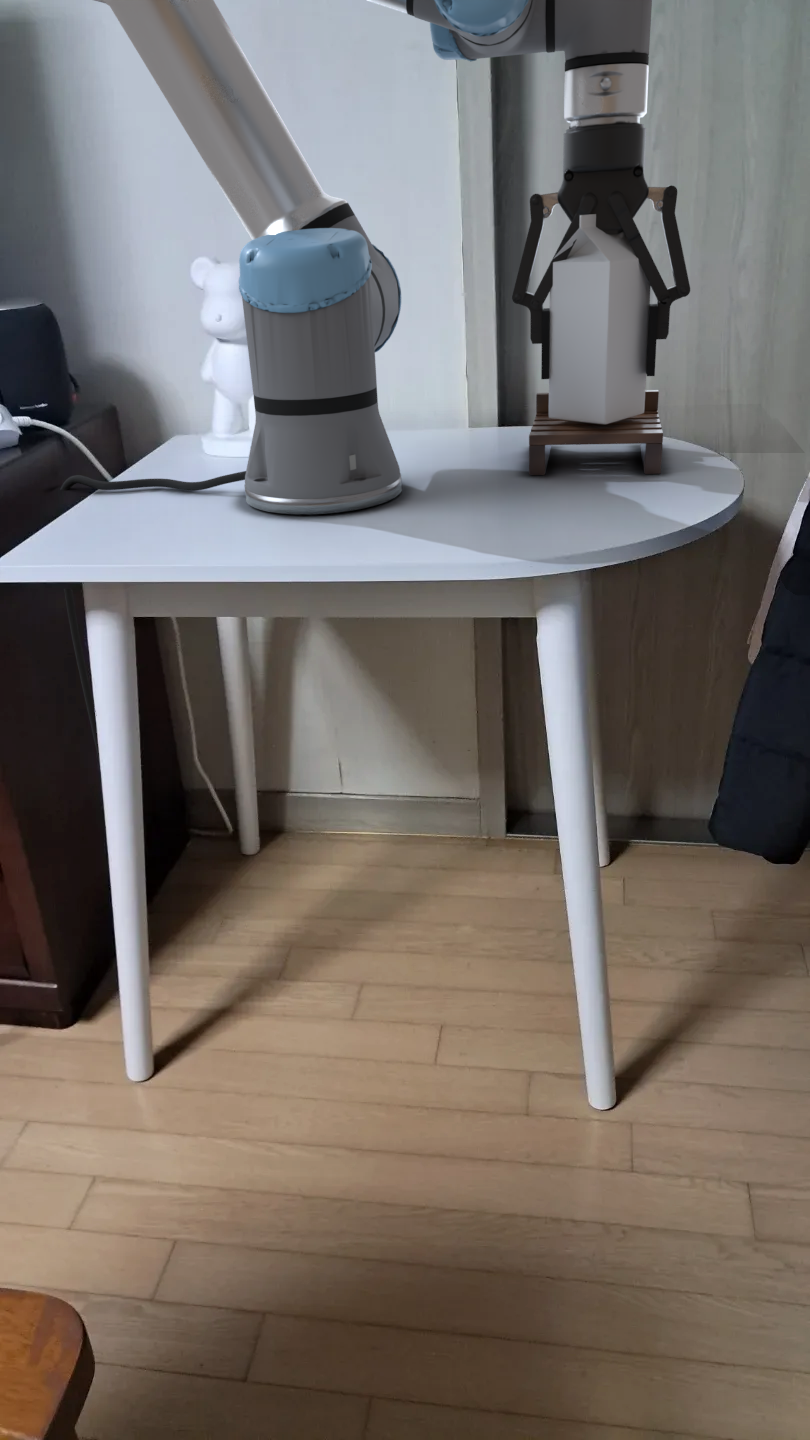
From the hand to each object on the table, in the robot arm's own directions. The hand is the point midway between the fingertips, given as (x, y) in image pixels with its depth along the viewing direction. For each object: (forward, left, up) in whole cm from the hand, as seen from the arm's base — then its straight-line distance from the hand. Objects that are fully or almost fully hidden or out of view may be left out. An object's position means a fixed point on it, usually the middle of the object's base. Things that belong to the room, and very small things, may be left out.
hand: (597, 375), depth 105 cm
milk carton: (0, 0, -4) cm, 4 cm away
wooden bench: (0, 0, -9) cm, 9 cm away
